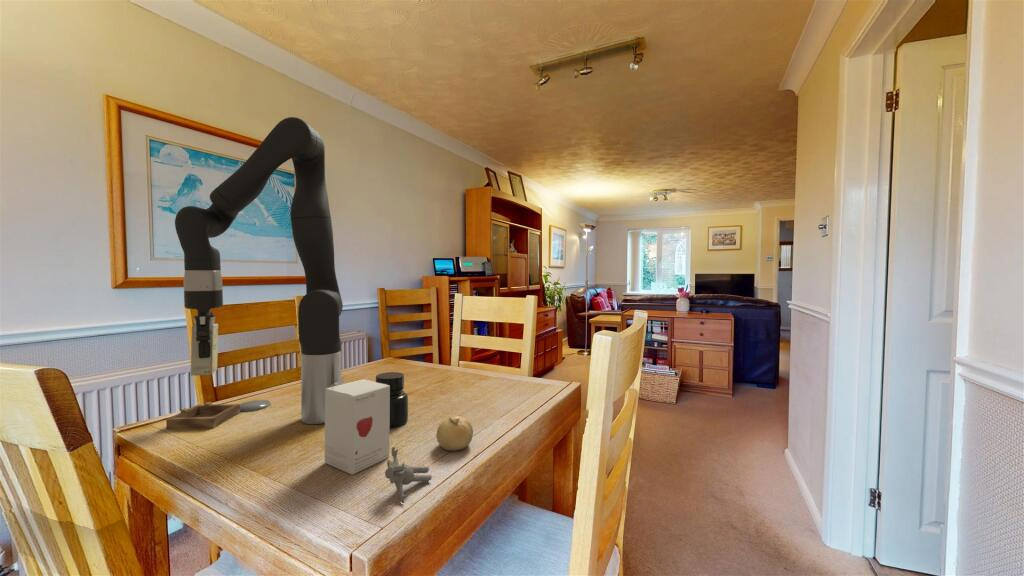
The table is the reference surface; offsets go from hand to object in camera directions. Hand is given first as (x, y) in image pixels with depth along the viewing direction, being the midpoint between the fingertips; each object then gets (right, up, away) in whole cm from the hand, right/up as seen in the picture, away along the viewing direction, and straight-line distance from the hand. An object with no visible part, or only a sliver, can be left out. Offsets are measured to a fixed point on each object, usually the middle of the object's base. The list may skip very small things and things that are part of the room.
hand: (205, 355), depth 96 cm
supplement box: (+46, -18, -19) cm, 53 cm away
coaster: (+5, -16, +11) cm, 20 cm away
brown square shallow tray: (0, -16, 0) cm, 17 cm away
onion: (+64, -18, -12) cm, 68 cm away
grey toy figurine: (+58, -18, -29) cm, 67 cm away
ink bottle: (+46, -17, +1) cm, 49 cm away
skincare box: (0, -5, 0) cm, 5 cm away
